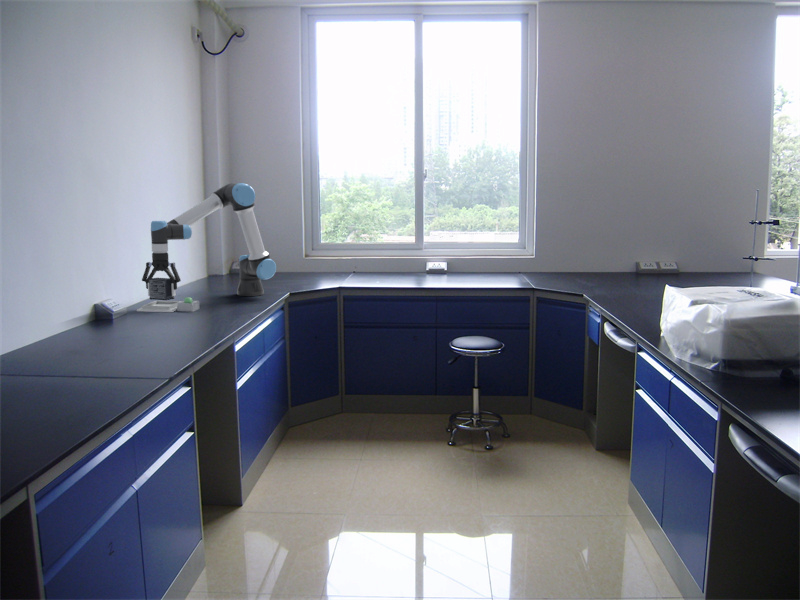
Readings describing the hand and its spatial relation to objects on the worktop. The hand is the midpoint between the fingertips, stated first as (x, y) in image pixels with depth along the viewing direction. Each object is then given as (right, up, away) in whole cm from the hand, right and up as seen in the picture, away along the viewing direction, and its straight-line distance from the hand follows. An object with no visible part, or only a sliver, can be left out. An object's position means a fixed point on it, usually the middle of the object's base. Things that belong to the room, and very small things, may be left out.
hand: (162, 295), depth 312 cm
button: (+14, -5, -2) cm, 15 cm away
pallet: (0, -6, +1) cm, 6 cm away
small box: (0, -2, 0) cm, 2 cm away
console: (+14, -7, -2) cm, 16 cm away
